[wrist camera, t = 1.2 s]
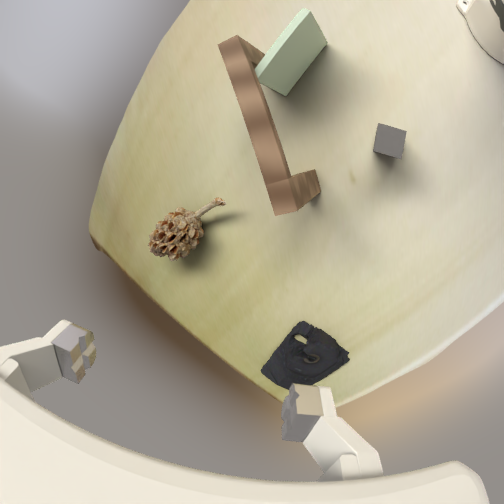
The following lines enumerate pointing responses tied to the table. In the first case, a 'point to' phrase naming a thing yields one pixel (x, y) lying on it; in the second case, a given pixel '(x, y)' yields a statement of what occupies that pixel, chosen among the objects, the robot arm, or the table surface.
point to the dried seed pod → (179, 232)
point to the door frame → (265, 130)
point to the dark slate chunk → (304, 358)
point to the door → (291, 53)
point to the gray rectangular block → (389, 141)
